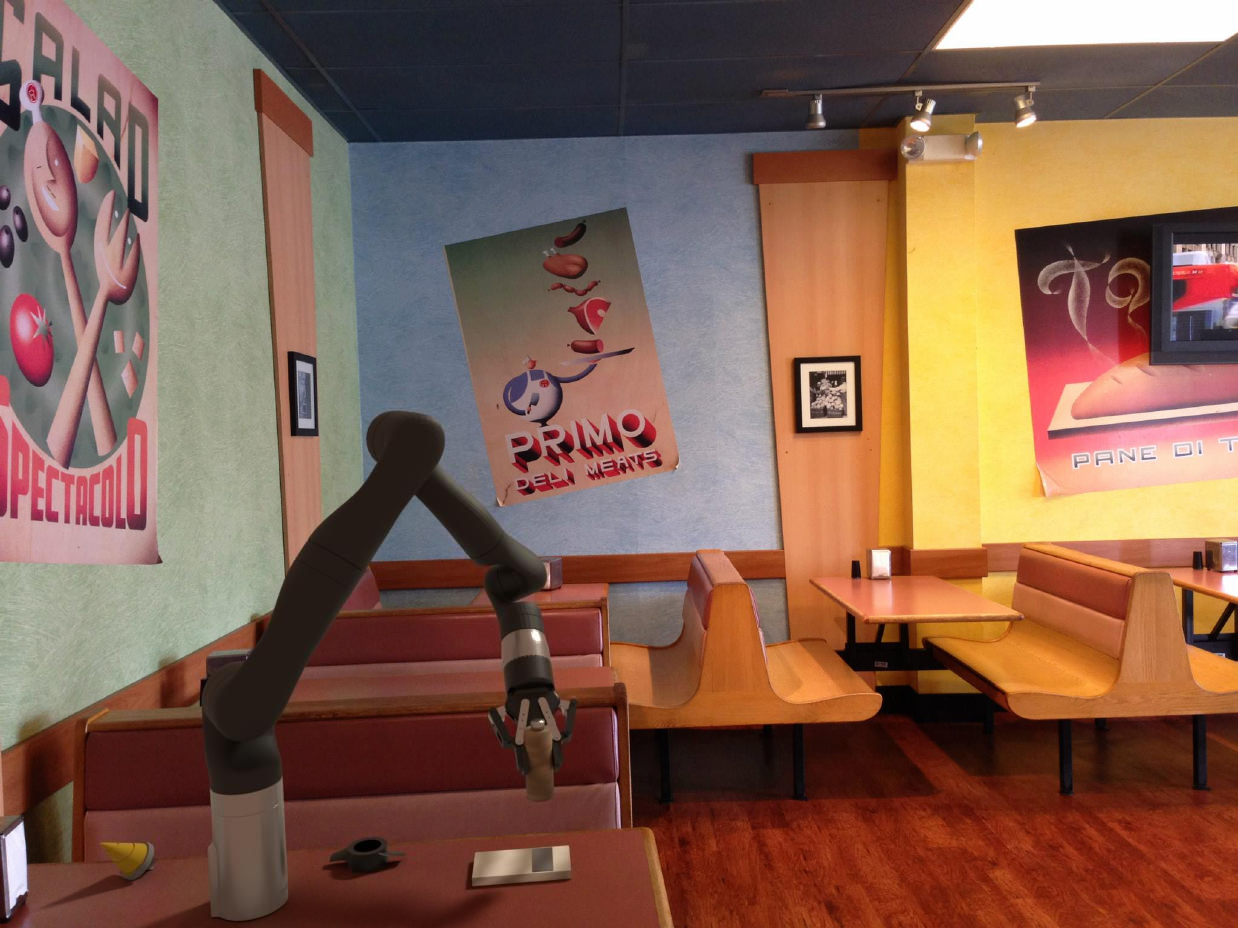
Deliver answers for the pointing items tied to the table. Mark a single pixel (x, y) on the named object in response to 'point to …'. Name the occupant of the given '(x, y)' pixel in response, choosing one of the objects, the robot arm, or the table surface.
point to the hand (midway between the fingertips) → (541, 770)
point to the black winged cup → (365, 854)
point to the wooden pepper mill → (539, 761)
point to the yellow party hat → (131, 857)
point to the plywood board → (521, 865)
